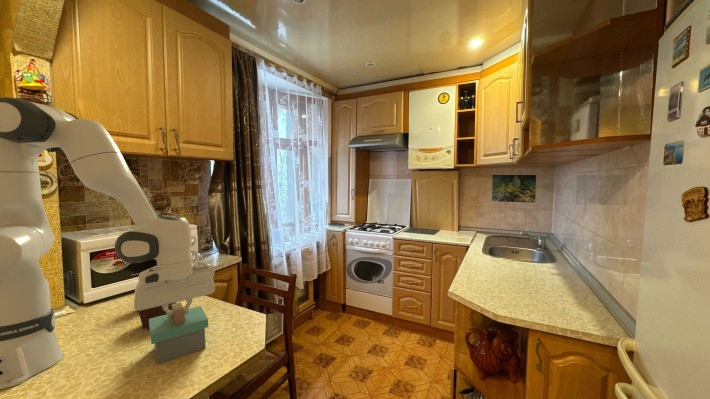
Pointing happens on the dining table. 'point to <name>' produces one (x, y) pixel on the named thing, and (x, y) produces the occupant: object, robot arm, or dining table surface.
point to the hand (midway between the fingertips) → (178, 315)
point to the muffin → (152, 314)
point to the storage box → (179, 346)
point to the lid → (177, 323)
